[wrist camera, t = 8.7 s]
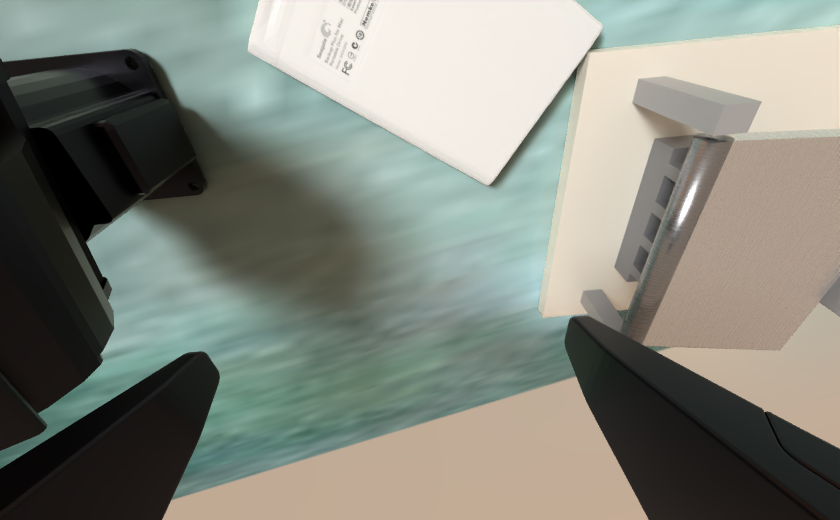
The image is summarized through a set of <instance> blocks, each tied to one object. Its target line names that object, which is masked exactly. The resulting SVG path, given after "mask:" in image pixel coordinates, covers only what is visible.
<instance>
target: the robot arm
mask: <svg viewBox="0 0 840 520" xmlns="http://www.w3.org/2000/svg"><path fill="white" fill-rule="evenodd" d="M131 57H132V58H134V59H135V60H136V61H137V63H138V66H139V67H138V69H137V68H136V67H134V66H133V65H132V63H131V60H130V59H131ZM191 181H193V182H195V183H197V185H198V187H195V186H194V185H193V184H192V182H191ZM206 188H207V183H206V180H205V178H204V176H203V174H202V172H201V170H200V168H199V166H198V163H197V161H196V159H195V152H194V150H193V148H192V146H191V144H190V142H189V140H188V137H187V135H186V133H185V131H184V129H183V127H182V125H181V123H180V121H179V118H178V116H177V114H176V112H175V110H174V108H173V106H172V104H171V103H170V102H169V101H168V100H167V98H166V96H165V94H164V92H163V90H162V88H161V85H160V83H159V81H158V79H157V77H156V75H155V73H154V71H153V69H152V67H151V64H150V62H149V60H148V59H147V57H146V56H145V55H144V54H143V53H142V52H140V51H138V50H136V49H123V50H113V51H104V52H94V53H84V54H74V55H64V56H54V57H44V58H34V59H25V60H15V61H5V62H2V60H1V58H0V451H1V450H3V449H6V448H8V447H11V446H13V445H15V444H18V443H20V442H23V441H25V440H27V439H30V438H32V437H35V436H37V435H39V434H41V433H42V432H43V431H44V430H45V429H46V428H47V424H46V422H45V421H44V420H43V419H42V418H41V417H40V415H39V414H38V413H39V412H41V411H43V410H44V409H46V408H48V407H49V406H51V405H52V404H53V403H55V402H56V401H58V400H59V399H60V398H62V397H63V396H64V395H66V394H67V393H69V392H70V391H71V390H73V389H74V388H75V387H77V386H78V385H80V384H81V383H82V382H84V381H85V380H86V379H87V378H88V377H89V376H90V375H91V374H92V373H93V372H94V371H95V370H96V369H97V368H98V367H99V366H100V365H101V363H102V361H103V357H102V355H101V352H102V351H103V350H104V348H105V346H106V344H107V342H108V340H109V338H110V336H111V334H112V332H113V330H114V315H113V310H112V308H111V306H110V304H109V302H108V299H109V296H110V293H111V291H112V288H111V286H110V284H109V282H108V279H107V278H105V277H103V276H102V274H101V272H100V270H99V268H98V266H97V264H96V262H95V260H94V258H93V256H92V254H91V252H90V250H89V248H88V246H87V244H86V243H87V242H88V241H89V240H91V239H92V238H93V237H95V236H96V235H97V234H98V233H100V232H101V231H102V230H104V229H105V228H106V227H108V226H109V225H110V224H112V223H113V222H114V221H116V220H117V219H118V218H120V217H121V216H122V215H123V214H125V213H126V212H127V211H129V210H130V209H131V208H133V207H134V206H135V205H137V204H138V203H139V202H141V201H142V200H150V199H161V198H171V197H181V196H191V195H199V194H201V193H202V192H203V191H204V190H205V189H206ZM565 348H566V351H567V354H568V356H569V359H570V361H571V364H572V366H573V369H574V371H575V374H576V377H577V379H578V382H579V384H580V387H581V389H582V392H583V394H584V397H585V399H586V402H587V404H588V406H589V408H590V409H591V411H592V413H593V415H594V417H595V419H596V421H597V423H598V425H599V427H600V428H601V430H602V432H603V434H604V436H605V438H606V440H607V442H608V444H609V446H610V447H611V449H612V451H613V453H614V455H615V457H616V459H617V461H618V462H619V464H620V466H621V468H622V470H623V472H624V474H625V476H626V478H627V479H628V481H629V483H630V485H631V487H632V489H633V491H634V493H635V495H636V496H637V498H638V500H639V502H640V504H641V506H642V508H643V510H644V512H645V513H646V515H647V517H648V519H649V520H840V449H839V448H837V447H835V446H834V445H831V444H830V443H828V442H826V441H823V440H822V439H820V438H818V437H816V436H814V435H812V434H810V433H808V432H807V431H804V430H802V429H800V428H799V427H797V426H795V425H793V424H791V423H789V422H787V421H786V420H784V419H782V418H780V417H778V416H776V415H774V414H772V413H771V412H764V410H763V409H762V408H760V407H758V406H756V405H754V404H752V403H751V402H749V401H747V400H745V399H743V398H741V397H739V396H738V395H736V394H734V393H732V392H730V391H728V390H726V389H724V388H722V387H721V386H719V385H717V384H715V383H713V382H711V381H710V380H708V379H706V378H704V377H702V376H700V375H698V374H696V373H694V372H693V371H691V370H689V369H687V368H685V367H683V366H681V365H680V364H678V363H676V362H674V361H672V360H670V359H668V358H667V357H665V356H663V355H661V354H659V353H657V352H655V351H653V350H652V349H650V348H648V347H646V346H644V345H642V344H640V343H639V342H637V341H635V340H633V339H631V338H629V337H627V336H625V335H624V334H622V333H620V332H618V331H616V330H614V329H612V328H611V327H609V326H607V325H605V324H603V323H601V322H599V321H597V320H596V319H594V318H592V317H590V316H586V315H585V316H574V317H571V318H570V320H569V324H568V328H567V332H566V336H565ZM219 379H220V376H219V371H218V369H217V368H216V366H215V365H214V364H213V362H212V361H211V359H210V358H209V356H208V355H207V354H206V353H205V352H202V351H199V352H189V353H186V354H184V355H182V356H180V357H179V358H177V359H176V360H174V361H172V362H171V363H169V364H168V365H166V366H164V367H163V368H161V369H160V370H158V371H156V372H155V373H153V374H152V375H150V376H148V377H147V378H145V379H144V380H142V381H140V382H139V383H137V384H136V385H134V386H132V387H131V388H129V389H128V390H126V391H124V392H123V393H121V394H120V395H118V396H116V397H115V398H113V399H112V400H110V401H108V402H107V403H105V404H104V405H102V406H100V407H99V408H97V409H96V410H94V411H92V412H91V413H89V414H88V415H86V416H84V417H83V418H81V419H80V420H78V421H76V422H75V423H73V424H72V425H70V426H68V427H67V428H65V429H64V430H62V431H60V432H59V433H57V434H56V435H54V436H52V437H51V438H49V439H48V440H46V441H44V442H43V443H41V444H40V445H38V446H36V447H35V448H33V449H32V450H30V451H28V452H27V453H25V454H24V455H22V456H20V457H19V458H17V459H16V460H14V461H12V462H11V463H9V464H8V465H6V466H4V467H3V468H1V469H0V520H162V519H163V517H164V514H165V512H166V510H167V508H168V505H169V504H170V501H171V499H172V497H173V495H174V493H175V491H176V488H177V486H178V484H179V482H180V480H181V478H182V475H183V473H184V471H185V469H186V467H187V465H188V462H189V460H190V458H191V456H192V454H193V452H194V449H195V447H196V445H197V443H198V440H199V438H200V436H201V433H202V430H203V428H204V425H205V422H206V419H207V416H208V413H209V410H210V407H211V404H212V401H213V398H214V396H215V393H216V390H217V387H218V384H219Z"/></svg>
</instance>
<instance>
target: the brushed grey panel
mask: <svg viewBox="0 0 840 520" xmlns="http://www.w3.org/2000/svg"><path fill="white" fill-rule="evenodd" d="M839 277H840V129H818V130H795V131H772V132H749V133H738V134H728V135H717V136H711V135H709V134H707V133H698V134H695V135H694V136H693V139H692V142H691V144H690V147H689V149H688V152H687V155H686V157H685V160H684V163H683V165H682V168H681V171H680V173H679V176H678V179H677V181H676V184H675V187H674V189H673V192H672V194H671V197H670V200H669V202H668V205H667V208H666V210H665V213H664V216H663V218H662V221H661V224H660V226H659V229H658V232H657V234H656V237H655V239H654V242H653V245H652V247H651V250H650V253H649V255H648V258H647V261H646V263H645V266H644V269H643V271H642V274H641V277H640V279H639V282H638V284H637V287H636V290H635V292H634V295H633V298H632V300H631V303H630V306H629V308H628V311H627V314H626V316H625V319H624V322H623V324H622V327H621V329H620V333H622V334H624V335H625V336H627V337H629V338H631V339H633V340H635V341H637V342H639V343H640V344H642V345H644V346H662V347H692V348H693V347H694V348H723V349H724V348H725V349H752V350H780V349H781V348H782V347H783V346H784V344H785V343H786V342H787V341H788V340H789V338H790V337H791V336H792V335H793V333H794V332H795V331H796V330H797V329H798V327H799V326H800V325H801V324H802V322H803V321H804V320H805V319H806V318H807V316H808V315H809V314H810V313H811V311H812V310H813V309H814V308H815V307H816V305H817V304H818V303H819V302H820V300H821V299H822V298H823V297H824V295H825V294H826V293H827V292H828V291H829V289H830V288H831V287H832V286H833V284H834V283H835V282H836V281H837V280H838V278H839Z"/></svg>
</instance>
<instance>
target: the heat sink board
mask: <svg viewBox="0 0 840 520" xmlns="http://www.w3.org/2000/svg"><path fill="white" fill-rule="evenodd" d="M818 129H840V25H831V26H821V27H811V28H801V29H791V30H781V31H771V32H761V33H751V34H741V35H731V36H721V37H711V38H701V39H691V40H681V41H671V42H661V43H651V44H641V45H631V46H621V47H611V48H601V49H591V50H588V52H587V53H586V54H585V56H584V58H583V59H582V60H581V61H580V63H579V64H578V67H577V74H576V80H575V86H574V92H573V98H572V104H571V110H570V116H569V122H568V128H567V134H566V140H565V146H564V153H563V159H562V165H561V171H560V177H559V183H558V189H557V195H556V201H555V207H554V213H553V219H552V226H551V232H550V238H549V244H548V250H547V256H546V262H545V268H544V274H543V280H542V286H541V292H540V299H539V305H538V309H539V311H540V313H541V315H542V318H546V317H557V316H567V315H578V314H588V315H589V316H590V317H592V318H594V319H596V320H597V321H599V322H601V323H603V324H605V325H607V326H609V327H611V328H612V329H614V330H616V331H618V332H620V329H621V327H622V324H623V322H624V320H623V319H622V317H621V316H620V314H619V313H618V312H617V311H620V310H628V308H629V306H630V303H631V300H632V298H633V295H634V292H635V290H636V287H637V284H638V282H639V279H640V277H641V274H642V271H643V269H644V266H645V263H646V261H647V258H648V255H649V253H650V250H651V247H652V245H653V242H654V239H655V237H656V234H657V232H658V229H659V226H660V224H661V221H662V218H663V216H664V213H665V210H666V208H667V205H668V202H669V200H670V197H671V194H672V192H673V189H674V187H675V184H676V181H677V179H678V176H679V173H680V171H681V168H682V165H683V163H684V160H685V157H686V155H687V152H688V149H689V147H690V144H691V142H692V139H693V136H694V135H695V134H698V133H707V134H709V135H711V136H717V135H728V134H738V133H749V132H772V131H795V130H818ZM820 303H821V304H823V305H824V306H825V307H827V308H828V309H830V310H831V311H832V312H834V313H835V314H837V315H838V316H840V277H839V278H838V280H837V281H836V282H835V283H834V284H833V286H832V287H831V288H830V289H829V291H828V292H827V293H826V294H825V295H824V297H823V298H822V299H821V300H820Z"/></svg>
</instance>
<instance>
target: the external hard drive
mask: <svg viewBox="0 0 840 520" xmlns="http://www.w3.org/2000/svg"><path fill="white" fill-rule="evenodd" d="M602 30H603V25H602V24H601V23H600V22H599V21H597V20H596V19H595V18H594V17H593V16H592V15H591V14H589V13H588V12H587V11H586V10H585V9H584V8H583V7H581V6H580V5H579V4H578V3H577V2H576V1H574V0H259V4H258V8H257V12H256V16H255V19H254V23H253V27H252V31H251V35H250V39H249V45H248V52H250V53H251V54H253V55H254V56H256V57H258V58H260V59H262V60H264V61H265V62H267V63H269V64H271V65H273V66H274V67H276V68H278V69H280V70H281V71H283V72H285V73H287V74H288V75H290V76H292V77H294V78H295V79H297V80H299V81H301V82H302V83H304V84H306V85H308V86H310V87H311V88H313V89H315V90H317V91H318V92H320V93H322V94H324V95H325V96H327V97H329V98H331V99H332V100H334V101H336V102H338V103H340V104H341V105H343V106H345V107H347V108H349V109H350V110H352V111H354V112H356V113H358V114H359V115H361V116H363V117H365V118H366V119H368V120H370V121H372V122H374V123H375V124H377V125H379V126H381V127H383V128H384V129H386V130H388V131H390V132H391V133H393V134H395V135H397V136H399V137H400V138H402V139H404V140H406V141H408V142H409V143H411V144H413V145H415V146H416V147H418V148H420V149H422V150H424V151H425V152H427V153H429V154H431V155H432V156H434V157H436V158H438V159H440V160H441V161H443V162H445V163H447V164H449V165H451V166H452V167H454V168H456V169H458V170H460V171H462V172H463V173H465V174H467V175H469V176H470V177H472V178H474V179H476V180H478V181H479V182H481V183H483V184H485V185H487V186H488V185H490V184H491V183H492V182H493V181H494V180H495V178H496V177H497V176H498V174H499V173H500V172H501V170H502V169H503V167H504V166H505V165H506V163H507V162H508V161H509V159H510V158H511V157H512V155H513V154H514V152H515V151H516V150H517V148H518V147H519V145H520V144H521V143H522V141H523V140H524V138H525V137H526V136H527V134H528V133H529V132H530V130H531V129H532V128H533V126H534V125H535V123H536V122H537V121H538V119H539V118H540V116H541V115H542V114H543V112H544V111H545V109H546V108H547V106H548V105H549V104H550V103H551V102H552V100H553V99H554V97H555V96H556V95H557V93H558V92H559V90H560V89H561V88H562V86H563V85H564V83H565V82H566V81H567V80H568V78H569V77H570V75H571V74H572V72H573V71H574V70H575V68H576V67H577V66H578V64H579V63H580V61H581V60H582V59H583V58H584V56H585V54H586V53H587V52H588V50H589V49H590V48H591V46H592V45H593V43H594V42H595V40H596V39H597V37H598V36H599V34H600V33H601V31H602Z"/></svg>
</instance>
